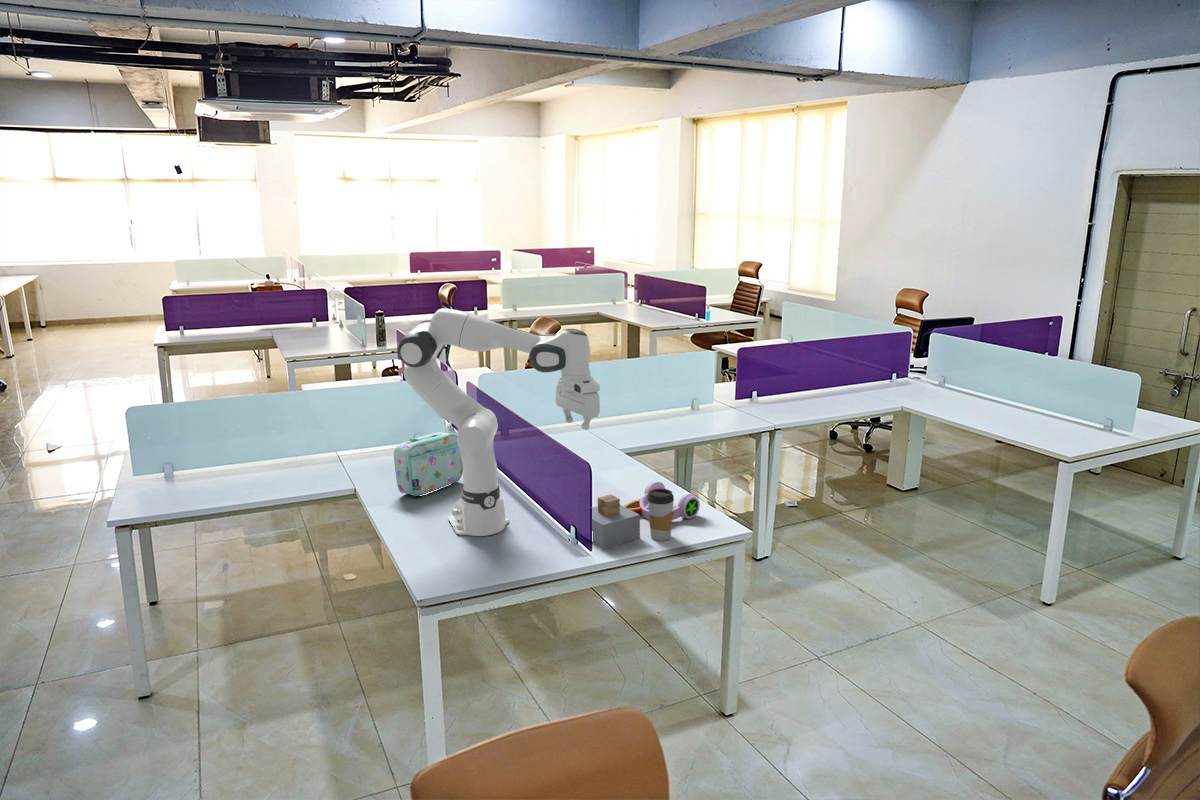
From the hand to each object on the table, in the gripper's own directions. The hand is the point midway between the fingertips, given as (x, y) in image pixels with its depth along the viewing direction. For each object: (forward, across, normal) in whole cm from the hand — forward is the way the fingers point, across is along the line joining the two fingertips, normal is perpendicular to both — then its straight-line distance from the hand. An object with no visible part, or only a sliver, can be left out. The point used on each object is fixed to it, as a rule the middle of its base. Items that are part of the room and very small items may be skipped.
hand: (577, 425), depth 252 cm
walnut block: (+29, +5, +8) cm, 31 cm away
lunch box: (+37, -70, -22) cm, 82 cm away
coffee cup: (+37, +15, +21) cm, 45 cm away
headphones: (+38, 0, +32) cm, 49 cm away
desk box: (+37, +5, +8) cm, 38 cm away
